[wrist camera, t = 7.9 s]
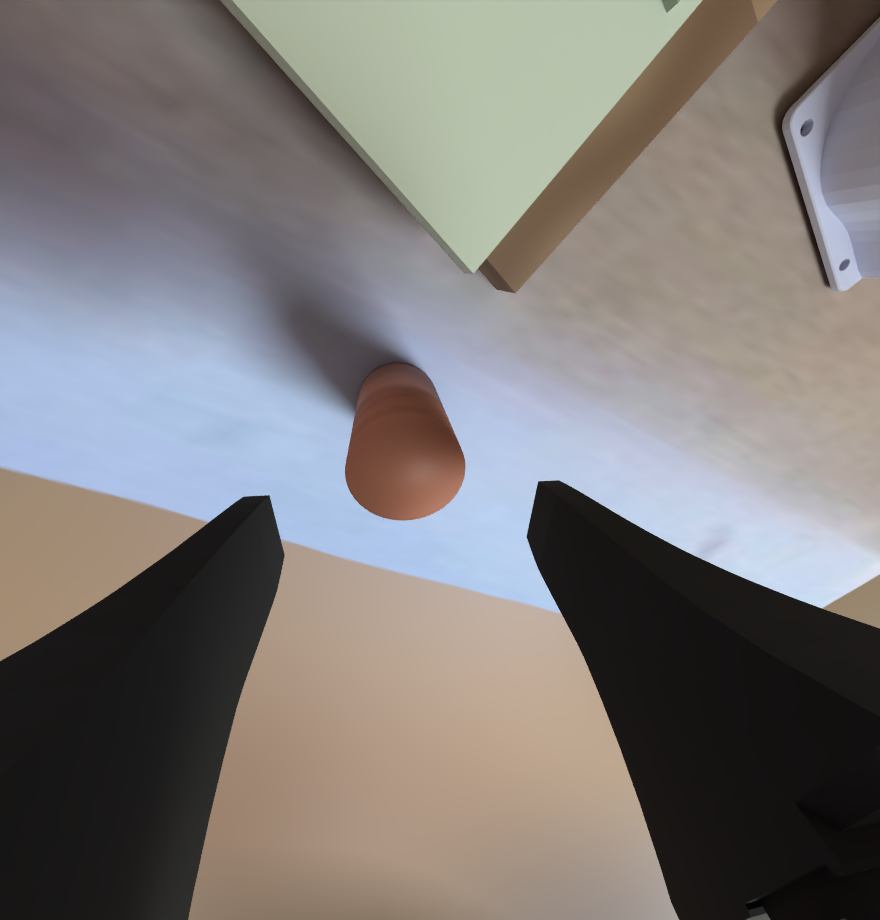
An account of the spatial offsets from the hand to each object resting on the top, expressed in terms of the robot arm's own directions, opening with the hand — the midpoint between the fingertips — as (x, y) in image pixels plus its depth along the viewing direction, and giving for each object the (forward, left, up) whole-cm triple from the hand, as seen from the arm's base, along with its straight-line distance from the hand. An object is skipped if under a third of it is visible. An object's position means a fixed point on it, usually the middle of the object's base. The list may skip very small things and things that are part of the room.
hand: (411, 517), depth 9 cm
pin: (0, 0, -9) cm, 9 cm away
